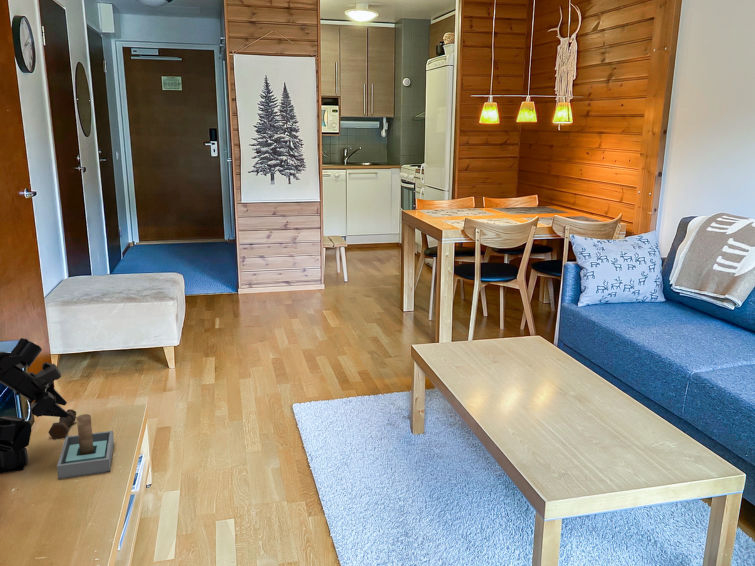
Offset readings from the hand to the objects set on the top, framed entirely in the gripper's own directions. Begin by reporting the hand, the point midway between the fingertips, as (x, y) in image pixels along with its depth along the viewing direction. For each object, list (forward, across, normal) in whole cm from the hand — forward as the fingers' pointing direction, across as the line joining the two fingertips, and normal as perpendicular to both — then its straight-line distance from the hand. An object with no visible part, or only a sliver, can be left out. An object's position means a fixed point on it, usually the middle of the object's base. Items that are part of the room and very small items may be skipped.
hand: (66, 409), depth 180 cm
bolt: (+10, +18, +10) cm, 23 cm away
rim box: (+12, -7, +7) cm, 16 cm away
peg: (+12, -7, +6) cm, 15 cm away
